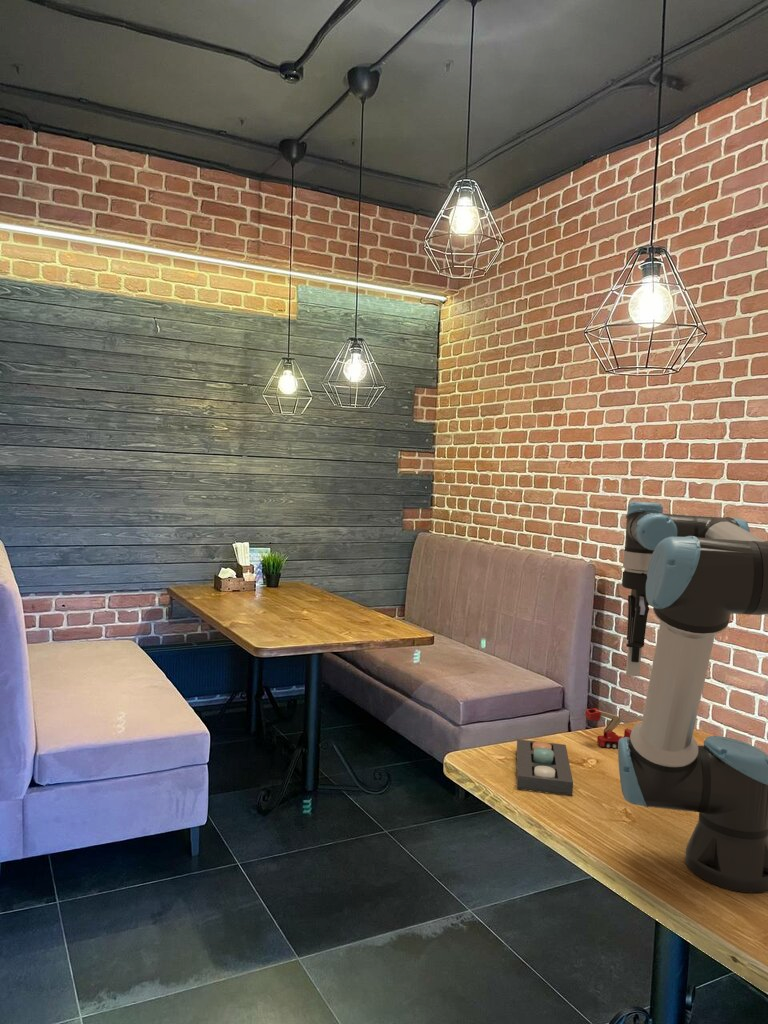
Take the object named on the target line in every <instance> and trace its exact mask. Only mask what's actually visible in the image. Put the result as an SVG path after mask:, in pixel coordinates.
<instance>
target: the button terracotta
mask: <svg viewBox="0 0 768 1024" xmlns="http://www.w3.org/2000/svg"><path fill="white" fill-rule="evenodd" d="M548 743H549V742H546V743H545V741H537V742H534V743H533V746H532V750H533V751H534V749H535V748H548V749H551V748H552V746H551V745H550V744H548Z"/></svg>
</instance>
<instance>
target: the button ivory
mask: <svg viewBox="0 0 768 1024" xmlns="http://www.w3.org/2000/svg"><path fill="white" fill-rule="evenodd" d="M534 776H540V777H549V778H555V770H554V769H553V768H551V767H548V766H536V767H535V769H534Z"/></svg>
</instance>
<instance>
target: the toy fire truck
mask: <svg viewBox="0 0 768 1024" xmlns="http://www.w3.org/2000/svg"><path fill="white" fill-rule="evenodd" d="M585 717H586V719H588V721H595V722H599V721H600V719H601V717H604V718H606V719H610V721H609V722H608V724H607V725H606V726H605V728H604V729H603V735H597V737H596V739H597V740H596V741H597V744H598V745H599V746H600V747H603V748H604V747H605V748H606V749H610V748H612V749H617V748H618V741H619V739H621V738H624V737H628V738H630V734H631V731H632V729H631V728H630V729H629V728H625V729H624V733H623V736H621V735H620V736H619V735H618V734H617V733H616V732H614V730H615V728H617V727H618V726H619V725H620V724H621V723H622V722H623V720H622V719H621V718H620V717H619V716H618V715H617V714H612V713H609V712H606V711H602V710H599V709H598V708H597V707H594V708H589V709H586V710H585Z"/></svg>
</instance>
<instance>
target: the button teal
mask: <svg viewBox="0 0 768 1024" xmlns="http://www.w3.org/2000/svg"><path fill="white" fill-rule="evenodd" d="M553 756H554V752H553V751H552V750H551V749H548V748H535V749H534V757H533V763H542V764H550V765H553Z"/></svg>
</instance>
